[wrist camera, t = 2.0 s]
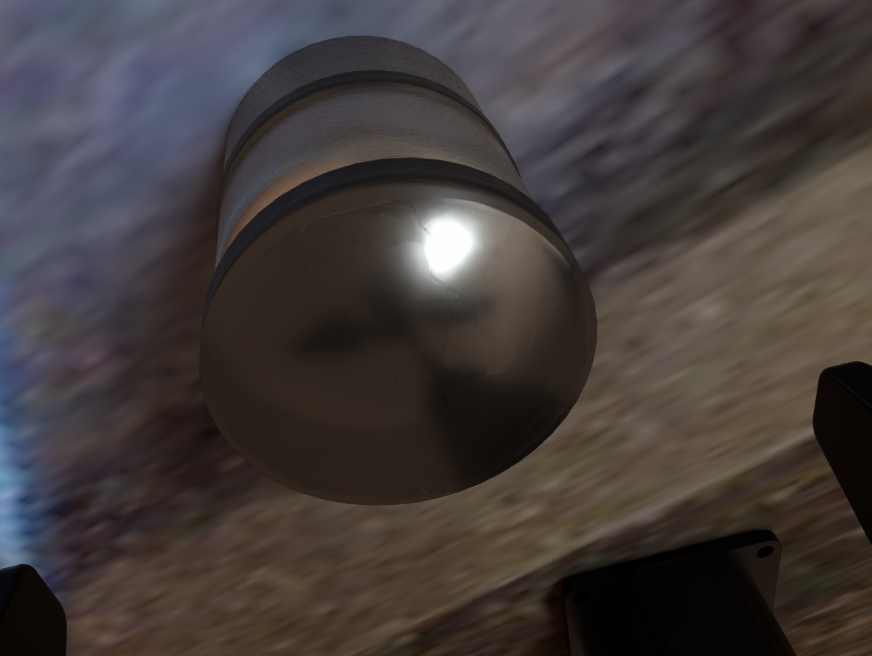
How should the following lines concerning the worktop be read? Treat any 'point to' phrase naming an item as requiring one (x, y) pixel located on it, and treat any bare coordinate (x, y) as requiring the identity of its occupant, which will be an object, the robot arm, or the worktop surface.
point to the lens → (384, 284)
